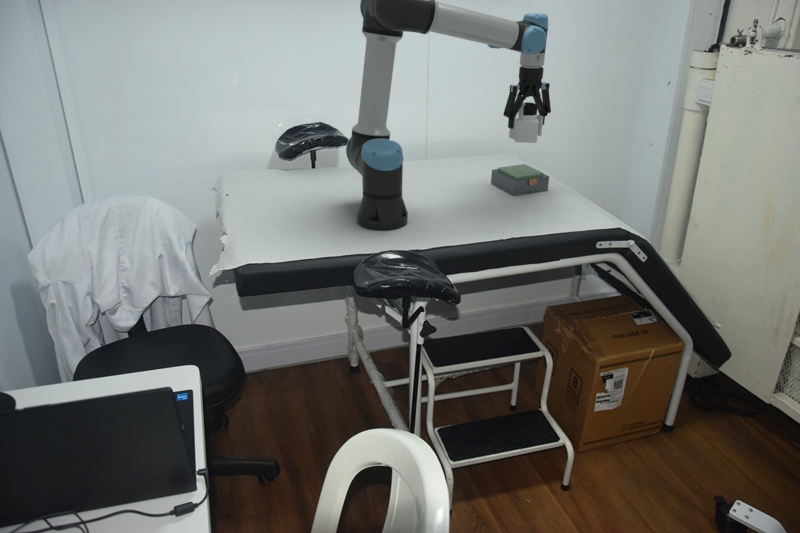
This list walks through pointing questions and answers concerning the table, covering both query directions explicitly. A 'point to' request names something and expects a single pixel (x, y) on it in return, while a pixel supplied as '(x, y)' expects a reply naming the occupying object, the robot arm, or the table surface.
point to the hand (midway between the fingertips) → (525, 136)
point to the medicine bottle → (527, 123)
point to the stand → (519, 179)
